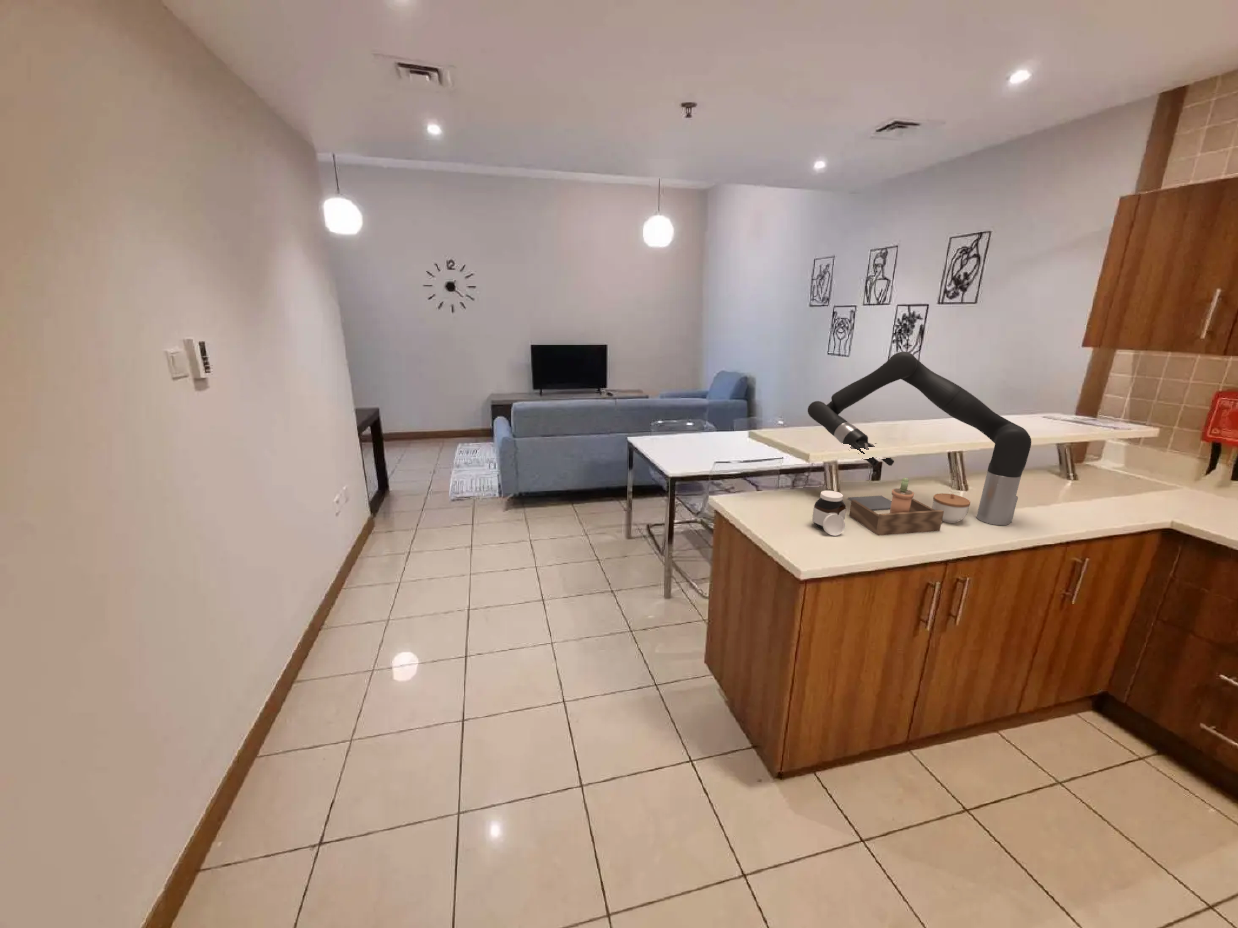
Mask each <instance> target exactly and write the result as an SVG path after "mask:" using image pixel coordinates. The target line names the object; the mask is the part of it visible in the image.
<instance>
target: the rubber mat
mask: <svg viewBox="0 0 1238 928" xmlns="http://www.w3.org/2000/svg"><path fill="white" fill-rule="evenodd" d="M847 499H848V500H849V501H851V500H856V501H857V502H859V503H861V504H862V505H864V506H866V507H867V508H869V509H871V510H872V511H874V512H875V511H887V510H889V511H890V507H891V502H892V500H890V499H888V498H887V497H885V496H883V495H869V496H868V495H867V496H851V497H850V496H849V497H847Z"/></svg>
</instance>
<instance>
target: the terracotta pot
mask: <svg viewBox="0 0 1238 928" xmlns="http://www.w3.org/2000/svg"><path fill="white" fill-rule="evenodd" d="M908 487H909V478H908V477H903V478H902V479H901V482H900V488H899V487H898V488H893V489H892V490H891V495H892V498H891V501H892V502H891V507H890V510H889V513H901V512H909V510H910V505H911V500H912V498H913V499H914V497H915V496H914V495H915V492H914V491H912V490H909V489H908Z"/></svg>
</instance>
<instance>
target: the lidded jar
mask: <svg viewBox="0 0 1238 928" xmlns="http://www.w3.org/2000/svg"><path fill="white" fill-rule="evenodd" d="M970 506H971V501H970V500H969V499H968V498H966V497H964V496H960V495H957V494H954V493H943V492H941V493H935V494H934V495H933V498H932V507H931V508H932V509H934V510H942V511H944V514H943V518H942V522H943V523H949V524H956V523H958V522H960V521H961V520H963V519H964V518H965V517H966V516H967V514H968V512H969V509H970Z"/></svg>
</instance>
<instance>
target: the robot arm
mask: <svg viewBox="0 0 1238 928" xmlns="http://www.w3.org/2000/svg"><path fill="white" fill-rule="evenodd" d="M899 380H902V381H903V382H905V383H907V384H909V385H911V386H912V387H914V388H915V389H917V390H918V391H919V392H920V393H921V394H923V396H925V397H926V398H927V400H929V401H930V402H931V403H932V404H933V405H935V406H936V407H937V408H938V409H940V410H941V411H942V412H944V413H946V415H949V416H950V417H951V418H953V419H955V420H957V421H959V422H962V423H964V424H966V425H968V426H970V427H972V428H975V429H976V430H978V431H979V432H980V433H982V434H983V435H985V436H986V437H987V438H988V439H989V440H991V441H992V442H993V443H994V447H993V452H992V454H991V459H990V461H989V463H988V467H987V471H986V476H985V478H984V479H985V480H984V484H983V488H982V493H981V496H980V500H979V504H978V509H977V513H976V518H977V520H979V521H980V522H981V521H982V522H983V523H987V524H990V525H994V526H996V525H997V526H1007V525H1009V524H1010V523H1013V519H1014V514H1015V511H1016V507H1017V503H1018V499H1019V497H1018V496H1017V493H1018V490H1019V486H1020V483H1021V482H1020V481H1021V478H1022V474H1023V471H1024V470H1025V467H1026V465H1027V463H1028V462H1027V461H1028V457H1029V456H1030V451H1031V447H1032V438H1031V435H1030V434H1029V433H1028V431H1027V429H1025V428H1024V427H1023V426H1020V425H1018V424H1016V423H1014V422H1012V421H1010V420H1008V419H1006V418H1004V417H1003V416H1001V415H999V414H997V413H996V412H995V411H994V410H992V409H991V408H990V407H988V406H987V405H986V404H985V403H984V402H983V401H981V400H980V399H979V398H977V397H976V396H975V395H973V394H972V393H971V392H969V391H968V390H966V389H964V388H963V387H962V386H960V385H958V384H957V383H955V382H953V381H952V380H949V379H947V378H945V377H944V376H941V375H939V374H937V373H936V372H934V371H932V370H931V369H930V368H929V367H927V366H926V365H925V364H923V362H922V361H920V360H919V359H918V358H916V357H915V355H914V354H913V353H910V352H908V351H899V352H896V353H894V354H892V355H891V356H890V357H889V359H888V360H887V361H885V362H884V363H882V365H881V366H879V367H878V368H876V369H874V371H872V372H871V373H869V374H867V375H865V376H864V377H862V378H859V379H858V380H856V381H854V382H852V383H850V384H847V385H846V386H845V387H842V388H841V389H839V390H838V391H836V392H835V393H833V394H832V396H831V401H829V403H827V404H825V402H823V401H821V400H820V401H819V400H816V401H813V402H811V403H810V404H809V405H808V407H807V414H808V416H809V417H810V418H811V419H812V420H813V421H815V422H816V423H817V424H820V425H821V426H822V427H823V428H824V429H825V430H826V431H828V433H830V435H832V436H833V437H834V438H835V439H836V440H837V441H838V442H839V443H841V444H842V443H843V444H849V445H851V447H850V448H851V449H857V450H859V451H860V452H861V453H863V454H865V453H864V452H863V451H861V449H860V448H864V449H866V450H869V448H868V447H875V446H874V444H877V442H876V443H874V444H873V443H871V442H869V436H868V435H867V434H866V433H865V432H863V431H862V430H861V429H859V428H858V427H856V426H855V425H854V424H852V423H850V422H849V421H848V420H846V419H845V418H843V417H842V416H840V414H841V413H842V412H843V411H844V410H845V409H848V408H849V407H851V406H853V405H855V404H856V403H859V402H860V401H862V400H863V399H864V398H866V397H867V396H869V395H870V394H872V393H873V392H876V391H877V390H879V389H881V388H883V387H885V386H887V385H890V384H892V383H895V382H897V381H899ZM843 444H842V445H843ZM862 460H863V461H866V462H868V463H869V464H870V465H871V466H872V467H877V466H878V464H879V463H880V462H879V460H878V459H876V458H874V457H872V458H869V459H863V458H862ZM881 461H882V462H884V463H885V464H886V465H888V466H893V464H894V463H895V460H894V459H893V458H892V457H890V458H886V459H881Z"/></svg>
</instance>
